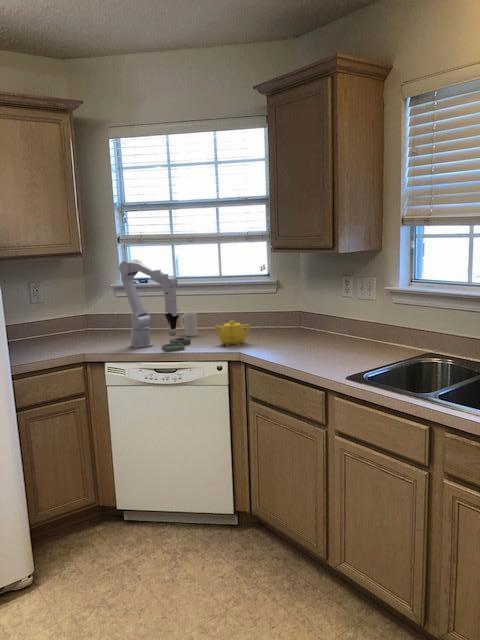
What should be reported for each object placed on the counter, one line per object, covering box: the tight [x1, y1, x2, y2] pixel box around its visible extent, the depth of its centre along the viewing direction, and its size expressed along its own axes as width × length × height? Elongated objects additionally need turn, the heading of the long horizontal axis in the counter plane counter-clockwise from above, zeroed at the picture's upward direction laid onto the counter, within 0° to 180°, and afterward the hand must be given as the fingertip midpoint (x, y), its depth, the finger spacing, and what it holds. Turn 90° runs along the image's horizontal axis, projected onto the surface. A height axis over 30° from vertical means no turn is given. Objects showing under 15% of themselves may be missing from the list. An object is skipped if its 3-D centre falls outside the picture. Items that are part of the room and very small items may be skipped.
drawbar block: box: [169, 336, 192, 346], centre depth 279 cm, size 9×7×2 cm
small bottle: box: [168, 322, 177, 337], centre depth 268 cm, size 3×3×7 cm
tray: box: [161, 343, 186, 353], centre depth 269 cm, size 9×9×2 cm
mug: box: [179, 312, 198, 337], centre depth 300 cm, size 10×7×12 cm, turn 63°
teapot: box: [214, 320, 251, 347], centre depth 273 cm, size 14×14×12 cm
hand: (172, 328), depth 268 cm, fingers closed on small bottle, 3 cm apart
